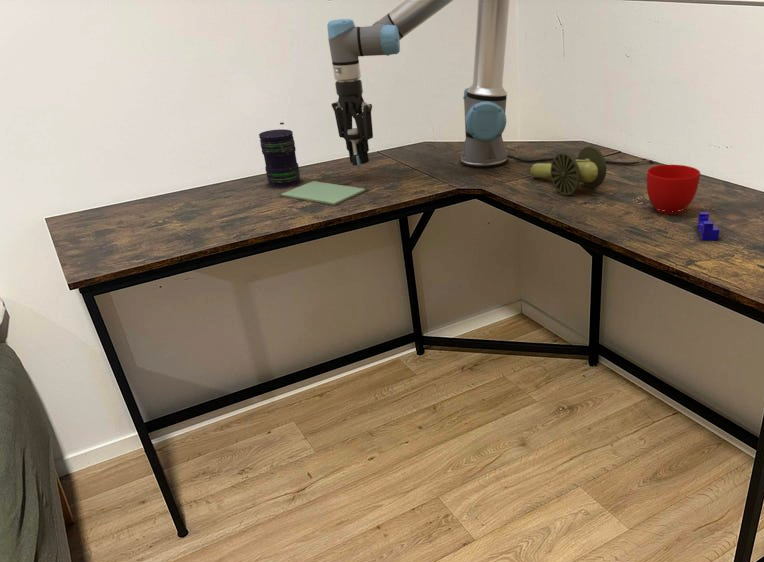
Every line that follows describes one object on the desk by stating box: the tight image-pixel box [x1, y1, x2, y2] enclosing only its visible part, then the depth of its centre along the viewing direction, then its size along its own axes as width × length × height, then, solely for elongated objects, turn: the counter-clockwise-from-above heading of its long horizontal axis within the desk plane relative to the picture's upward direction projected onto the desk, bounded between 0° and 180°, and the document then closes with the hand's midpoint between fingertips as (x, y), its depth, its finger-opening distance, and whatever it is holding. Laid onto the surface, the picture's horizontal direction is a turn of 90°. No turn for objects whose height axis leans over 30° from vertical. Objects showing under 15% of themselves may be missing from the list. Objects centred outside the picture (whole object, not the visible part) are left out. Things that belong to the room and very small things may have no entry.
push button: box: [345, 127, 362, 166], centre depth 203 cm, size 7×5×10 cm
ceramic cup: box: [646, 164, 701, 215], centre depth 173 cm, size 13×17×10 cm
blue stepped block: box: [696, 211, 720, 241], centre depth 158 cm, size 8×4×4 cm, turn 173°
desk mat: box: [280, 180, 366, 206], centre depth 196 cm, size 20×14×1 cm
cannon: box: [530, 145, 607, 196], centre depth 192 cm, size 25×12×11 cm, turn 37°
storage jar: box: [258, 122, 302, 189], centre depth 202 cm, size 10×10×18 cm
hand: (359, 161), depth 205 cm, fingers closed on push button, 3 cm apart
